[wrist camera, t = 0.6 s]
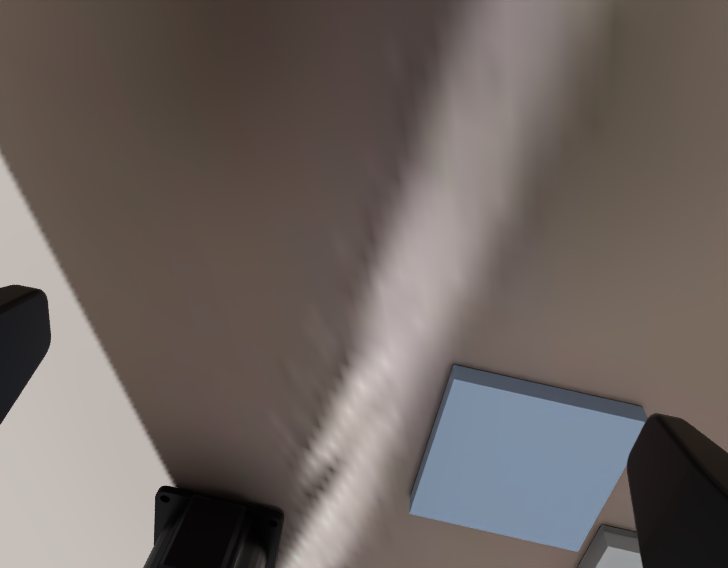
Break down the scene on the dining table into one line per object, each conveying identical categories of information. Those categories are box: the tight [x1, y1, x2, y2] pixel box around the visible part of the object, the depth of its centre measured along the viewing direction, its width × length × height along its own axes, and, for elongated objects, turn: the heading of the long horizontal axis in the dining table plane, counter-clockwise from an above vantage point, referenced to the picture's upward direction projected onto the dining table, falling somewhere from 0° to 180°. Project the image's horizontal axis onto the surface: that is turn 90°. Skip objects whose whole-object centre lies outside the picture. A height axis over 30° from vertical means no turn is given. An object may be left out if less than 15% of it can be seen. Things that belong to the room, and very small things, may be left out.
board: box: [409, 365, 647, 552], centre depth 26 cm, size 8×8×1 cm
